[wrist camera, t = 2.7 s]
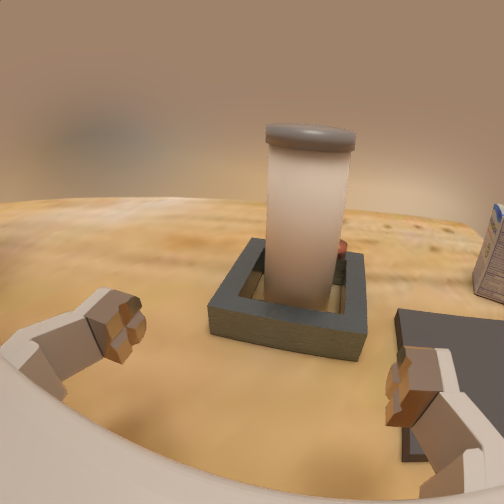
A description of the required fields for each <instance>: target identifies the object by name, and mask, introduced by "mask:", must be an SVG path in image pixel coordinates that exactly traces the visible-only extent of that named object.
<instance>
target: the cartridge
mask: <svg viewBox="0 0 504 504" xmlns="http://www.w3.org/2000/svg"><path fill="white" fill-rule="evenodd" d="M355 139H356V133H355V132H353V131H350V130H345V129H340V128H335V127H327V126H320V125H310V124H292V123H277V124H267V125H266V143H268V144H269V155H268V190H267V191H268V192H267V219H266V246H265V271H264V295H263V301H265V302H271V303H276V304H282V305H288V306H293V307H299V308H305V309H311V310H317V311H323V312H326V311H327V307H328V302H329V297H330V292H331V287H332V282H333V277H334V271H335V266H336V260H337V254H338V248H339V242H340V236H341V229H342V222H343V215H344V208H345V200H346V193H347V185H348V175H349V167H350V157H351V151H354V149H355Z"/></svg>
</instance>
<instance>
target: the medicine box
mask: <svg viewBox="0 0 504 504" xmlns="http://www.w3.org/2000/svg"><path fill="white" fill-rule="evenodd" d="M473 283H474V293H475V294H476V295H479V296H483V297H486V298H489V299H492V300H495V301H498V302H501V303H504V205H501V204H498V203H496V204H494V208H493V211H492V215H491V219H490V222H489V226H488V229H487V232H486V236H485V239H484V242H483V245H482V248H481V251H480V254H479V257H478V260H477V263H476V265H475V268H474V271H473Z"/></svg>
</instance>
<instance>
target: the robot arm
mask: <svg viewBox="0 0 504 504" xmlns="http://www.w3.org/2000/svg"><path fill="white" fill-rule="evenodd" d="M0 1H1V0H0ZM141 308H142V305H141V301H140V298H138V297H136V296H133V295H130V294H127V293H123V292H120V291H117V290H113V289H110V288H107V287H100V288H98V289H97V290H96V291H95V292H94V293H93V294H92V295H91V296H90V297H88V298H87V299H86V300H85V301H84V302H83V303H82V304H81V305H80V306H79V307H78V308H77V309H75V310H74V311H73V312H71V311H69V312H66V313H63V314H60V315H58V316H55V317H52V318H49V319H47V320H44V321H41V322H38V323H36V324H33V325H30V326H27V327H25V328H22V329H19V330H17V331H16V332H15V333H14V334H13V335H12V336H11V337H10V338H9V339H8V340H7V341H6V342H5V343H4V344H3V345H2V346H1V347H0V504H504V438H503V437H502V436H501V435H500V433H499V432H498V431H497V430H496V429H495V427H494V426H493V425H492V424H491V423H490V421H489V420H488V419H487V418H486V417H485V416H484V414H483V413H482V412H481V411H480V410H479V409H478V408H477V406H476V405H475V404H474V403H473V402H472V401H471V400H470V398H469V397H468V396H467V395H466V394H465V393H464V392H460V390H459V385H458V380H457V376H456V372H455V368H454V364H453V360H452V356H451V352H450V350H449V349H442V348H425V347H413V346H402V347H401V348H400V349H399V351H398V353H397V362H396V363H394V364H393V365H392V366H391V368H390V371H389V373H388V377H387V381H386V396H387V398H388V399H389V400H390V401H389V403H388V404H387V406H386V422H385V426H392V427H407V428H411V430H412V432H413V433H414V435H415V437H416V439H417V440H418V442H419V444H420V446H421V448H422V449H423V451H424V453H425V455H426V457H427V459H428V460H429V462H430V464H431V466H432V468H433V470H434V472H435V473H436V474H435V475H434V476H433V477H431V478H430V479H429V480H427V481H426V482H424V483H423V484H422V485H421V486H420V494H419V499H407V500H354V499H339V498H328V497H319V496H311V495H303V494H297V493H291V492H285V491H280V490H274V489H269V488H265V487H260V486H256V485H252V484H247V483H243V482H240V481H236V480H232V479H229V478H225V477H222V476H218V475H215V474H212V473H209V472H206V471H203V470H200V469H197V468H194V467H191V466H188V465H186V464H183V463H180V462H178V461H175V460H172V459H170V458H167V457H165V456H163V455H160V454H158V453H155V452H153V451H151V450H149V449H146V448H144V447H142V446H140V445H138V444H136V443H133V442H131V441H129V440H127V439H125V438H123V437H121V436H119V435H117V434H115V433H113V432H112V431H110V430H108V429H106V428H104V427H102V426H101V425H99V424H97V423H95V422H94V421H92V420H90V419H88V418H87V417H85V416H83V415H82V414H80V413H78V412H77V411H75V410H74V409H72V408H70V407H69V406H67V405H66V404H64V403H63V402H61V401H62V400H63V399H64V397H65V396H66V395H67V389H66V388H65V386H64V385H63V383H62V381H63V380H65V379H67V378H69V377H71V376H72V375H74V374H76V373H78V372H80V371H82V370H83V369H85V368H87V367H89V366H91V365H92V364H94V363H96V362H98V361H100V360H101V359H103V357H104V358H107V359H109V360H112V361H114V362H117V363H119V364H123V363H124V362H125V360H126V359H127V358H128V357H129V355H130V354H131V353H132V346H133V345H135V344H138V343H140V341H141V340H142V338H143V337H144V335H145V331H146V319H145V316H144V315H143V314H142V313H141V311H140V309H141Z"/></svg>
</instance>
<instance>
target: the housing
mask: <svg viewBox="0 0 504 504" xmlns="http://www.w3.org/2000/svg"><path fill="white" fill-rule="evenodd" d="M265 246H266V239H259V238H251V240H250V241H249V243H248V244H247V246H246V247H245V249H244V250H243V252H242V253H241V255H240V256H239V258H238V259H237V261H236V262H235V264H234V265H233V267H232V268H231V270H230V271H229V273H228V274H227V276H226V278H225V279H224V281H223V282H222V284H221V285H220V287H219V288H218V290H217V291H216V293H215V294H214V296H213V297H212V299H211V300H210V302H209V303H208V305H207V308H208V318H209V327H210V334H214V335H219V336H223V337H227V338H231V339H236V340H240V341H244V342H249V343H254V344H258V345H263V346H268V347H273V348H278V349H283V350H288V351H294V352H299V353H305V354H311V355H317V356H323V357H329V358H336V359H343V360H350V361H358V359H359V356H360V354H361V351H362V348H363V345H364V343H365V340H366V337H367V334H368V333H367V300H366V282H365V267H364V255H363V254H360V253H353V252H347V251H346V250H347V243H346V242H345V241H343V240H341V239H340V242H339V248H338V254H337V260H336V266H335V271H334V277H333V282H332V284H338V285H342V287H341V302H340V314H336V313H330V312H323V311H317V310H311V309H305V308H299V307H293V306H288V305H282V304H276V303H271V302H265V301H260V300H254V299H250V298H251V296H252V294H253V292H254V290H255V288H256V286H257V284H258V282H259V280H260V278H261V276H262V274H263V273H264V271H265Z"/></svg>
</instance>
